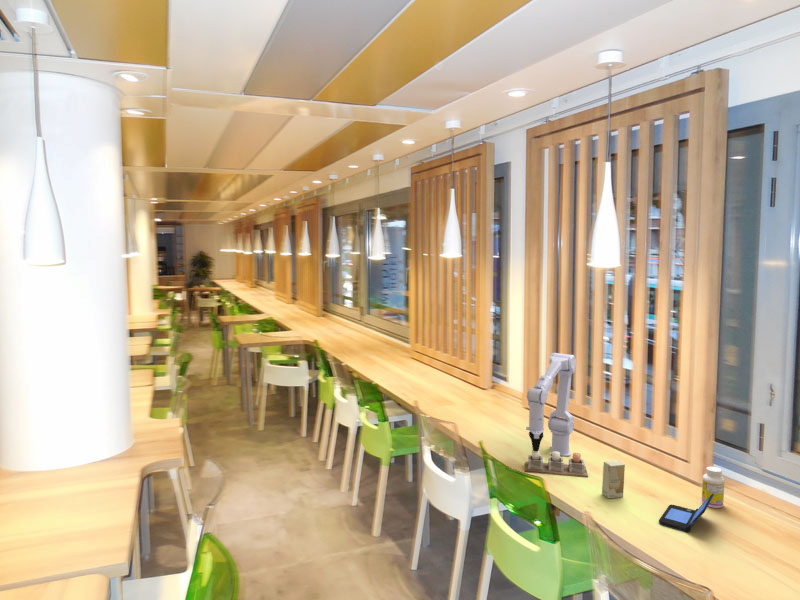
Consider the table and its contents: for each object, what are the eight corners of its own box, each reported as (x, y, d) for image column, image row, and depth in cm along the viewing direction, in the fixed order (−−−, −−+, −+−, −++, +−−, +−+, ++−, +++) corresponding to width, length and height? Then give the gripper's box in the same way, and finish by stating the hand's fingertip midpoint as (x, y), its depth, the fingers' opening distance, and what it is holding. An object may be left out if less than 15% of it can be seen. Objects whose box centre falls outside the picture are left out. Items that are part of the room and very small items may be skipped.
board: (525, 462, 234) (525, 452, 233) (585, 467, 228) (585, 457, 228) (525, 472, 224) (525, 461, 223) (588, 477, 219) (588, 466, 218)
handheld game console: (669, 507, 194) (671, 481, 193) (713, 519, 185) (714, 492, 184) (657, 525, 182) (658, 497, 181) (703, 538, 173) (704, 509, 172)
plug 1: (531, 457, 229) (531, 449, 229) (539, 458, 229) (539, 449, 228) (531, 460, 226) (532, 452, 226) (539, 460, 226) (539, 452, 225)
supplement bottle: (703, 498, 200) (705, 463, 199) (724, 503, 196) (726, 468, 195) (699, 505, 195) (701, 469, 194) (721, 510, 191) (723, 474, 190)
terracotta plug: (572, 460, 226) (572, 452, 226) (580, 461, 225) (580, 453, 225) (572, 463, 223) (573, 455, 223) (580, 464, 222) (581, 455, 222)
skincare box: (608, 499, 200) (610, 466, 199) (601, 494, 204) (602, 461, 203) (624, 497, 201) (625, 464, 200) (616, 491, 206) (617, 459, 204)
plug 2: (551, 459, 228) (552, 450, 227) (559, 459, 227) (559, 451, 227) (552, 461, 225) (552, 453, 224) (559, 462, 224) (560, 454, 224)
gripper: (526, 412, 234) (525, 443, 235) (526, 422, 220) (525, 455, 221) (543, 413, 232) (542, 444, 234) (544, 423, 218) (544, 457, 219)
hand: (535, 450), depth 227 cm, fingers closed
